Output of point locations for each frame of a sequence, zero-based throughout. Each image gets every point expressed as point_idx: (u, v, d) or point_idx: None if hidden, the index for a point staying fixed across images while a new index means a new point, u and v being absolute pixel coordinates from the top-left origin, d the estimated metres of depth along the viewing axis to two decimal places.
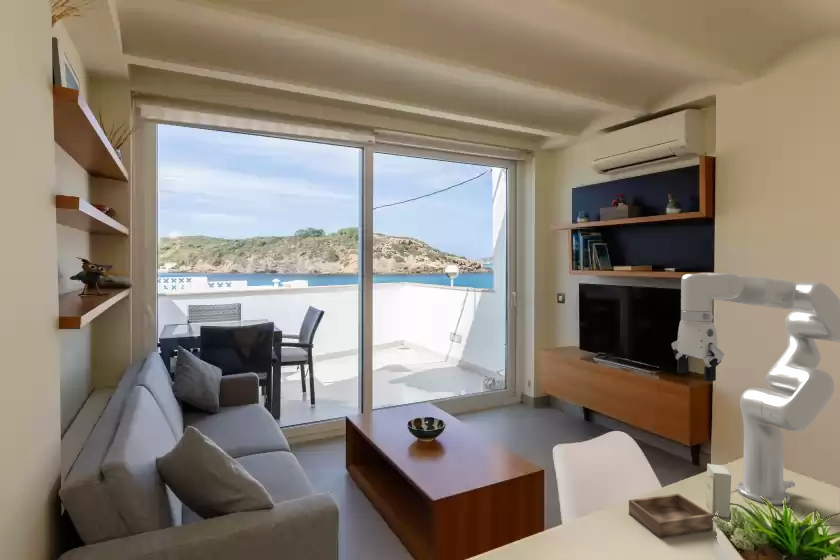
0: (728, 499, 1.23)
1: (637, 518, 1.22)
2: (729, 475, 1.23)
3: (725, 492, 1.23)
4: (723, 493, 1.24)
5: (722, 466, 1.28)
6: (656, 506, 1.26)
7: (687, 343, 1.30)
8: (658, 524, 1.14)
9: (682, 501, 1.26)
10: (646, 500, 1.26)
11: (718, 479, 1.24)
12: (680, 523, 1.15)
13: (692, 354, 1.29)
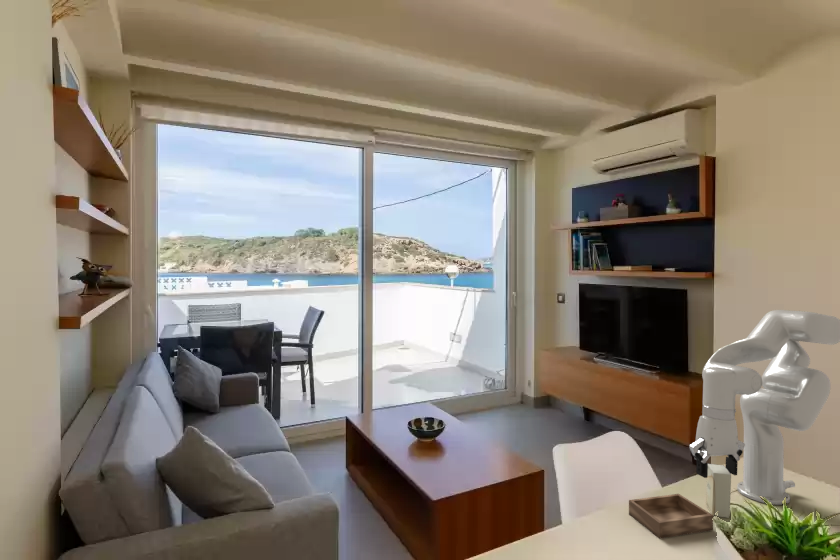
0: (728, 499, 1.23)
1: (637, 518, 1.22)
2: (729, 475, 1.23)
3: (725, 492, 1.23)
4: (723, 493, 1.24)
5: (722, 466, 1.28)
6: (656, 506, 1.26)
7: (723, 443, 1.24)
8: (658, 524, 1.14)
9: (682, 501, 1.26)
10: (646, 500, 1.26)
11: (718, 479, 1.24)
12: (680, 523, 1.15)
13: (726, 453, 1.24)
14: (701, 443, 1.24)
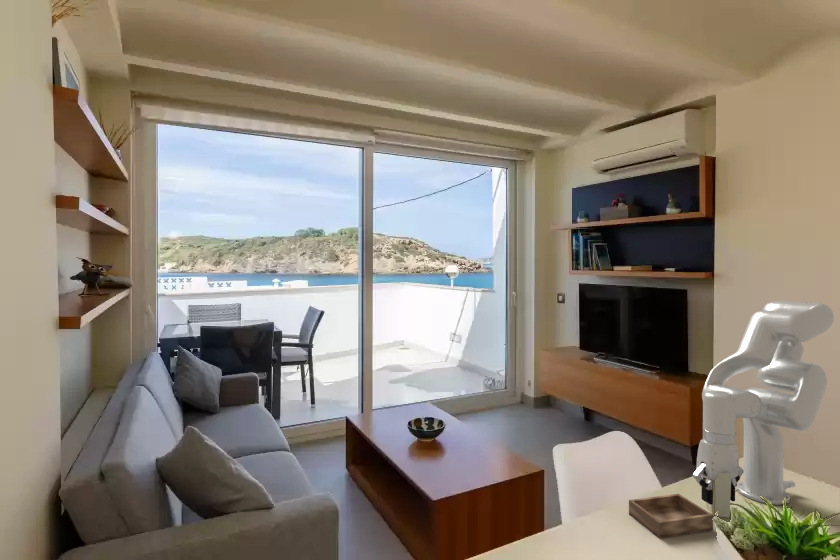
0: (728, 499, 1.23)
1: (637, 518, 1.22)
2: (729, 475, 1.23)
3: (725, 492, 1.23)
4: (723, 493, 1.23)
5: None
6: (656, 506, 1.26)
7: (724, 467, 1.24)
8: (658, 524, 1.14)
9: (682, 501, 1.26)
10: (646, 500, 1.26)
11: (718, 479, 1.24)
12: (680, 523, 1.15)
13: None
14: (703, 470, 1.25)
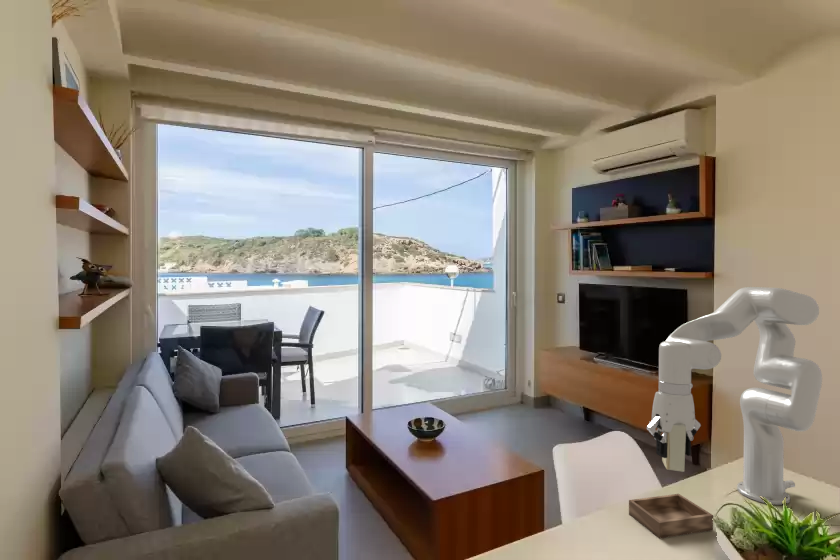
0: (683, 452, 1.18)
1: (637, 518, 1.22)
2: (684, 427, 1.18)
3: (680, 444, 1.18)
4: (677, 446, 1.18)
5: None
6: (656, 506, 1.26)
7: (679, 419, 1.19)
8: (658, 524, 1.14)
9: (682, 501, 1.26)
10: (646, 500, 1.26)
11: (673, 431, 1.19)
12: (680, 523, 1.15)
13: None
14: (657, 422, 1.20)
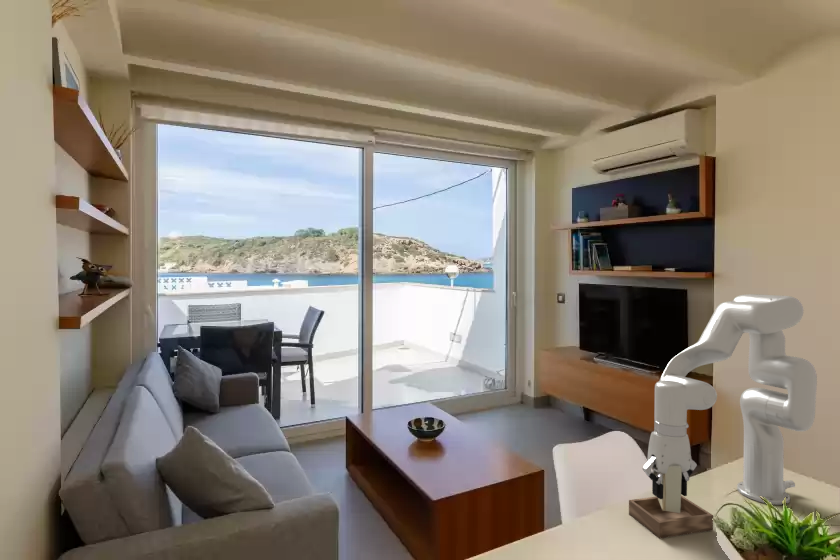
0: (679, 493, 1.18)
1: (637, 518, 1.22)
2: (680, 468, 1.18)
3: (676, 486, 1.18)
4: (673, 487, 1.18)
5: None
6: (656, 506, 1.26)
7: (675, 460, 1.19)
8: (658, 524, 1.14)
9: (682, 501, 1.26)
10: (646, 500, 1.26)
11: (668, 472, 1.19)
12: (680, 523, 1.15)
13: None
14: (653, 463, 1.19)
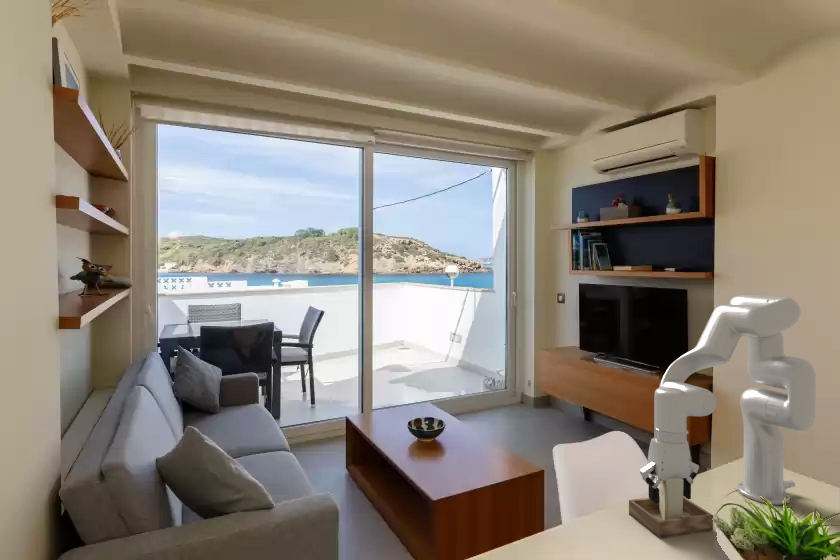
0: (680, 506, 1.18)
1: (637, 518, 1.22)
2: (681, 481, 1.18)
3: (677, 498, 1.18)
4: (675, 500, 1.19)
5: None
6: (656, 506, 1.26)
7: (675, 467, 1.19)
8: (658, 524, 1.14)
9: None
10: (646, 500, 1.26)
11: (670, 485, 1.19)
12: (680, 523, 1.15)
13: (679, 477, 1.19)
14: (652, 467, 1.19)
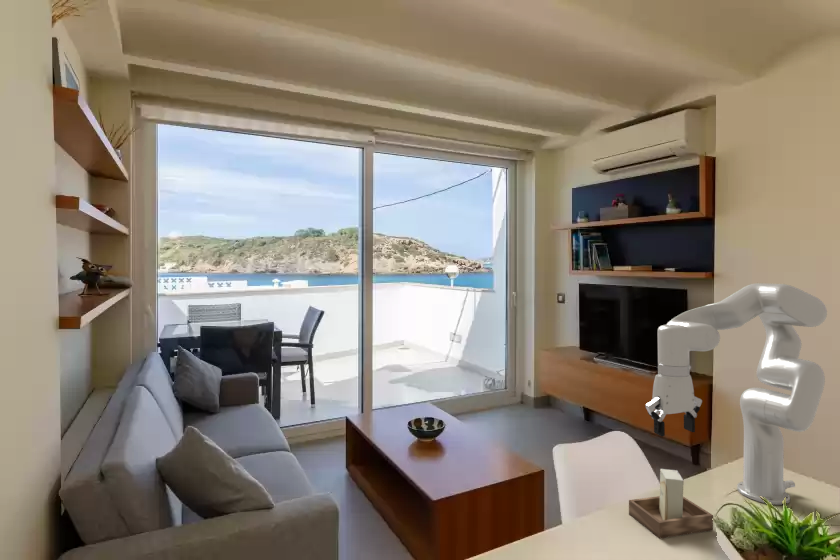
0: (680, 506, 1.18)
1: (637, 518, 1.22)
2: (681, 481, 1.18)
3: (677, 498, 1.18)
4: (675, 500, 1.19)
5: (675, 471, 1.23)
6: (656, 506, 1.26)
7: (679, 400, 1.22)
8: (658, 524, 1.14)
9: None
10: (646, 500, 1.26)
11: (670, 485, 1.19)
12: (680, 523, 1.15)
13: (683, 410, 1.22)
14: (657, 402, 1.22)
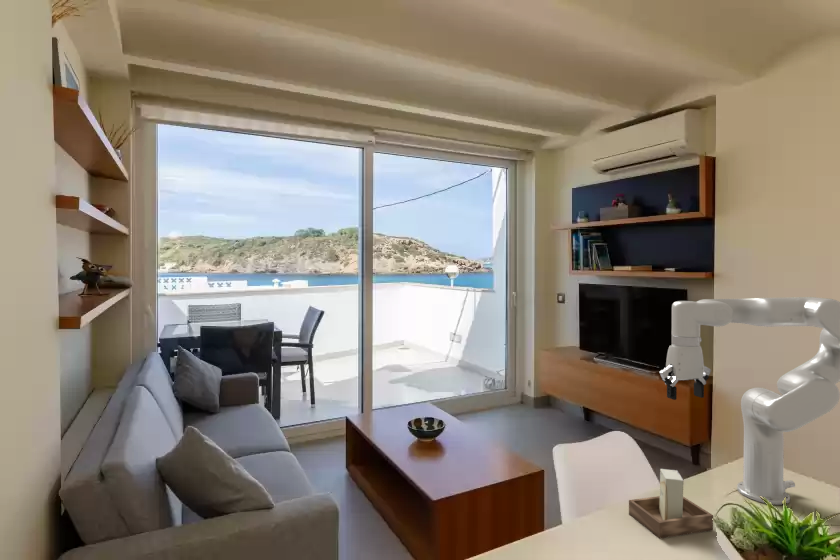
0: (680, 506, 1.18)
1: (637, 518, 1.22)
2: (681, 481, 1.18)
3: (677, 498, 1.18)
4: (675, 500, 1.19)
5: (675, 471, 1.23)
6: (656, 506, 1.26)
7: (690, 368, 1.36)
8: (658, 524, 1.14)
9: None
10: (646, 500, 1.26)
11: (670, 485, 1.19)
12: (680, 523, 1.15)
13: (693, 377, 1.37)
14: (670, 369, 1.37)
